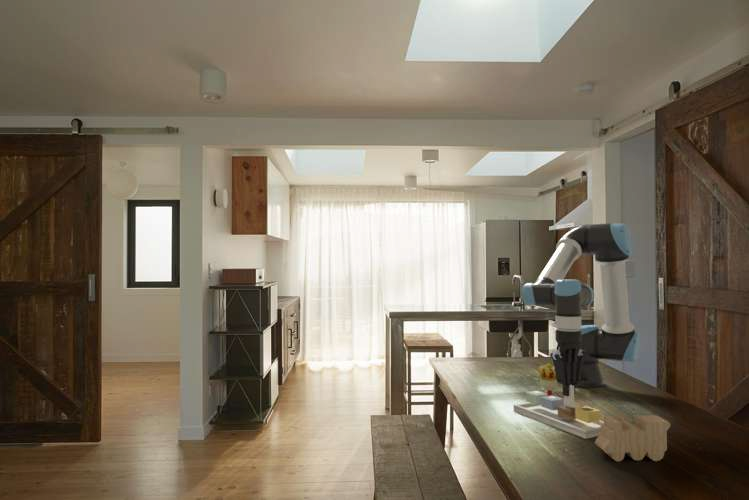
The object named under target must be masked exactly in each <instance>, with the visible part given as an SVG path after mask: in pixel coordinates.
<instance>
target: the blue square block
mask: <svg viewBox="0 0 749 500" xmlns="http://www.w3.org/2000/svg"><path fill="white" fill-rule="evenodd" d="M553 395H554V394H553ZM553 395H551V396H545V397H541V407H544V408H547V409H550V410H558V406H563V405H564V398H562V397H559V396H556V395H554V396H553Z"/></svg>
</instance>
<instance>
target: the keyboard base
mask: <svg viewBox="0 0 749 500" xmlns="http://www.w3.org/2000/svg"><path fill="white" fill-rule="evenodd" d="M513 411H514V412H515V413H517V414H521V415H524V416H525V417H528V418H531V419H533V420H536V421H539V422H541V423H544V424H547V425H549V426H552V427H554V428H557V429H560V430H562V431H564V432H567V433H570V434H572V435H575V436H576V437H577V436H578V437H580V438H582V439H585V440H586V439H591V438H595V437H598V436H599V435H600V430H601V424H604V420H601V419H600V421H596V422H591V423H587V422H584V421H581V420H578V419H575V420H567V419H564V418H562V417H559V416H558V410H550V409H547V408H544V407H541V404H538V405H536V404H533V403H530V402H522V403H517V404H516V403H515V404H513Z"/></svg>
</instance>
